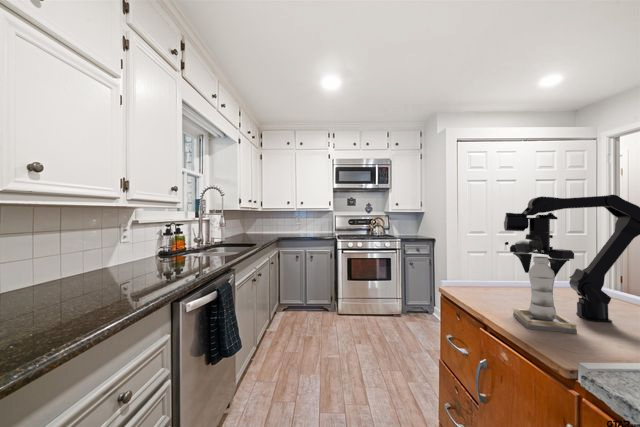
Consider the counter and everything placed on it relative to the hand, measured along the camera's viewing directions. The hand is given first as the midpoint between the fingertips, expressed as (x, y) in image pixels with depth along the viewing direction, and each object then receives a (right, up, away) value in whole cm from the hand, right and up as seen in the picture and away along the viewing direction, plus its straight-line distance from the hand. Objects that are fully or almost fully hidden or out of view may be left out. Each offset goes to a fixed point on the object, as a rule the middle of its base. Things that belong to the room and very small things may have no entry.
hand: (539, 275), depth 96 cm
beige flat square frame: (-7, -13, -10) cm, 18 cm away
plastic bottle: (-7, -12, -10) cm, 17 cm away
